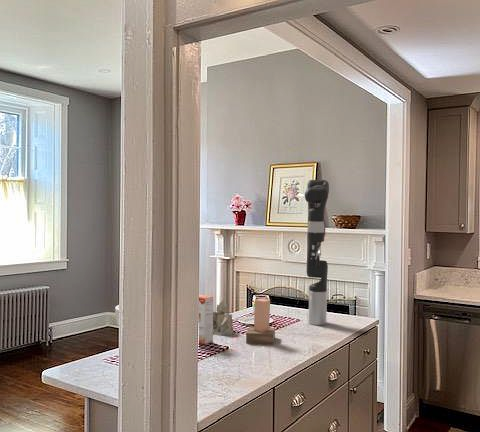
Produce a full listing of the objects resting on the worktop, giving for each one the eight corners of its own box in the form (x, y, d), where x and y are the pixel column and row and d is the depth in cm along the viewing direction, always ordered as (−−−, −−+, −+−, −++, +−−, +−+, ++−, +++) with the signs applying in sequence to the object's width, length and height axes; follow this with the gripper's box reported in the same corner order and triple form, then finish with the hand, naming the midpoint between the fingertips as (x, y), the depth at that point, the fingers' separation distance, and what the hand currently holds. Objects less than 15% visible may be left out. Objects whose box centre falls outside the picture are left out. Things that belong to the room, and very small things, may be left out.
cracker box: (182, 339, 227) (182, 294, 226) (191, 336, 231) (191, 292, 231) (204, 345, 218) (204, 298, 217) (213, 342, 223) (213, 296, 222)
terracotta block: (260, 327, 230) (261, 298, 229) (268, 330, 227) (270, 300, 226) (253, 330, 226) (255, 299, 225) (262, 332, 223) (264, 301, 222)
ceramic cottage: (200, 327, 249) (201, 297, 248) (232, 327, 251) (233, 298, 249) (200, 337, 234) (202, 306, 232) (234, 338, 235) (236, 307, 234)
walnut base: (249, 337, 233) (249, 326, 233) (274, 338, 231) (275, 327, 231) (246, 344, 221) (246, 333, 221) (272, 345, 220) (272, 334, 219)
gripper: (310, 230, 234) (310, 264, 235) (304, 231, 221) (304, 268, 221) (326, 230, 232) (326, 265, 232) (321, 232, 218) (321, 268, 219)
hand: (315, 266), depth 227 cm, fingers open, 8 cm apart
